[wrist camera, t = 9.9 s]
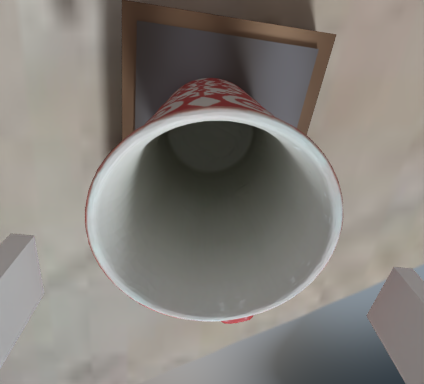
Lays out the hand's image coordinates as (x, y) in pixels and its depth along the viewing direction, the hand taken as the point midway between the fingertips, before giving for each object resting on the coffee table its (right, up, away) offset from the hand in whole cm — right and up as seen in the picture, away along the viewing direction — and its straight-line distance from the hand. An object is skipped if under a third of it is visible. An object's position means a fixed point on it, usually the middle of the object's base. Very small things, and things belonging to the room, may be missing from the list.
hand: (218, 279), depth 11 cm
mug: (0, +7, +12) cm, 14 cm away
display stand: (0, +9, +16) cm, 18 cm away
